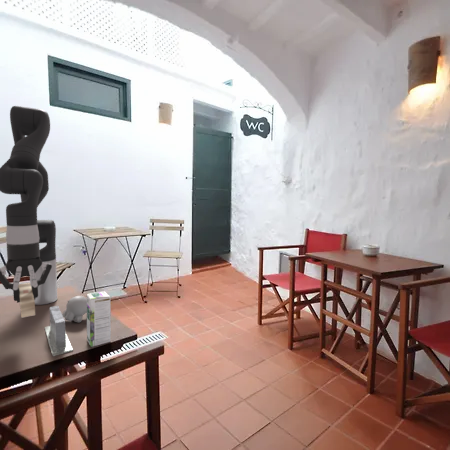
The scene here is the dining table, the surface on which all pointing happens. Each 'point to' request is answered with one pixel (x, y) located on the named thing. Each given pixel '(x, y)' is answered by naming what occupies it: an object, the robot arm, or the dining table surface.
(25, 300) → the beam
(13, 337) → the dining table surface
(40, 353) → the dining table surface
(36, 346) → the dining table surface
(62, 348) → the ridge
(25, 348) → the dining table surface
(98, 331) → the syrup box
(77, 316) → the chubby cartoon animal
